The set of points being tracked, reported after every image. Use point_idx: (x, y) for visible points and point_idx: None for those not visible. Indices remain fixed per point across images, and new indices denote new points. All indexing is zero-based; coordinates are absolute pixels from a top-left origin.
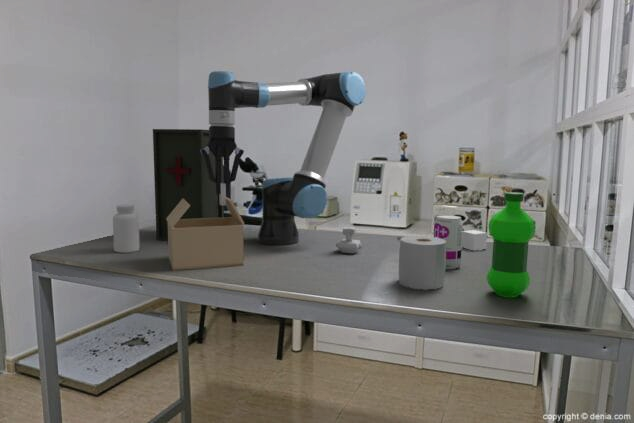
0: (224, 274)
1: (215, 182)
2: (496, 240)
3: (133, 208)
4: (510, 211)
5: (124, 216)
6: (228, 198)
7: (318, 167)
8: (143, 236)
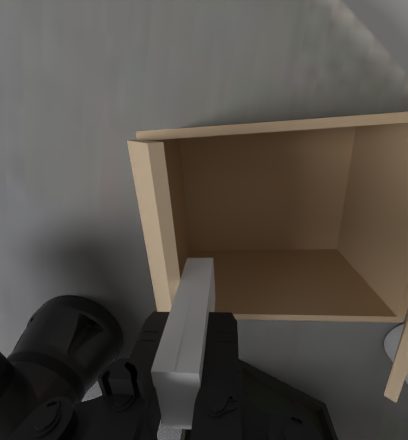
0: (235, 35)
1: (252, 405)
2: None
3: None
4: None
5: None
6: (164, 246)
7: None
8: (344, 432)
